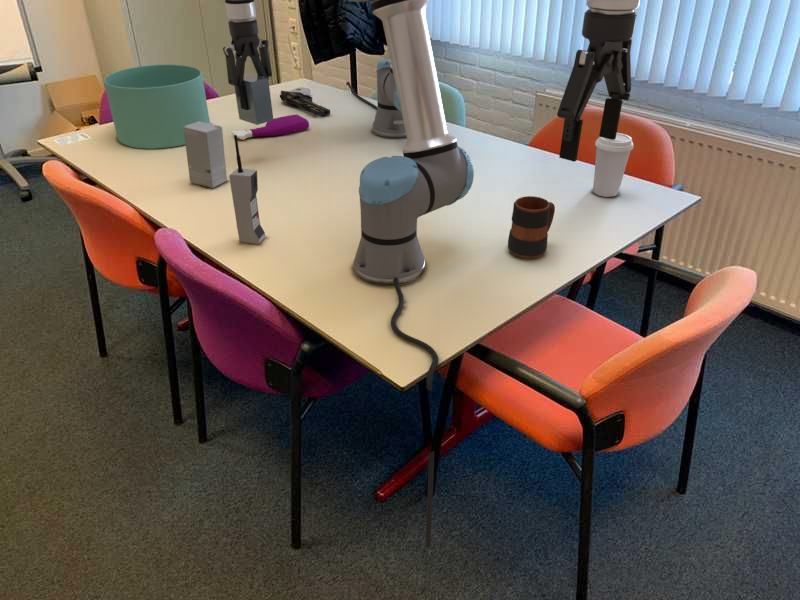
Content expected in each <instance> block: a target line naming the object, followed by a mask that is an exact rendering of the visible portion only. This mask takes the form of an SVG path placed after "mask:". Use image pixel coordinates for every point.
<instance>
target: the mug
mask: <svg viewBox="0 0 800 600" xmlns="http://www.w3.org/2000/svg"><path fill="white" fill-rule="evenodd" d="M555 213H556V207H555V204H554V203H553V202H551V201H548V200H547V199H546V198H543V197H539V196H531V195H528V196H527V195H526V196H521V197H518V198H517V199H515V201H514V202H513V208H512V213H511V226H510V227H511V228H510V230H509V232H508V233H509V234H508V240H507V248H508V250H509V252H510V253H511V254H512V255H513V256H515V257H518V258H521V259H528V260H529V259H531V260H533V259H537V258H540V257H542V256H543V255H544V254H545V253H546V251H547V247H548V240H549V239H548V238H549V235H548V233H549V231H550V229H551V226H552V224H553V220H554V216H555Z"/></svg>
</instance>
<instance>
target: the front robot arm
mask: <svg viewBox="0 0 800 600" xmlns="http://www.w3.org/2000/svg"><path fill="white" fill-rule="evenodd" d="M348 1H349V2H354V3H363V2H370V6H371V12H372V14H373V15H374V16H376V17H377V18H378V19H379V20H381V22H382V26H383V32H384V36H385V39H386V45H387V48H388V49H387V51H388V54H389V59H390V60H391V64H392V69H393V74H394V78H395V83H396V88H397V93H398V97H399V102H400V107H401V112H402V116H403V121H404V126H405V130H406V135H407V137H406V139H407V141H406V144H405V145H404V147H403V149H402V155H391V156H390V157H389V156H382V157H380V158H376V159H374V160H371V161H370V162H369V163H367V164H366V165H365V166H363V168H362V170H361V171H360V174H359V186H358V195H359V206H360V239H359V242H358V247H357V249H356V252H355V256H354V259H353V270H354V273H355V275H356V276H357V277H358V278H359V279H360V280H362V281H364V282H366V283H369V284H370V285H371V284H372V285H376V286H382V287H395V292H396V294H397V297H398V304H397V307H396V309H395V311H394V312H393V314H392V316H391V319H390V327H391V329H392V331H393V332H394V334H395V335H396V336H398V337H399V338H401V339H403V340H404V341H406V342H408V343H410V344H414V345H416V346H418V347H420V348H422V349H423V350H425V351H426V352H428V353H429V354H430V356H431V359H432V362H431V364H430V366H429V368H428V371H427V375H426V390H427V391H432V390H433V381H434V374H435V371H436V369H437V367H438V365H439V356H438V353H437V352H436V351H435V349H434V348H433V347H432V346H431V345H429V344H428V343H426V342H424V341H423V340H420V339H418V338H416V337H414V336H410V335H408V334H406V333H405V332H403V331H402V330H400V328H399V327H398V325H397V319H398V318H399V316H400V314H401V312H402V310H403V308H404V304H405V298H404V297H405V296H404V294H403V291H402V288H401V286H402V285H406V284H410V283H413V282H415V281H417V280H418V279H420V278H421V276H423V274H424V273H425V270H426V260H425V255H424V252H423V250H422V247H421V244H420V241H419V238H418V218H420V217H422V216H425V215H427V214H429V213H432V212H434V211H436V210H439V209H441V208H444V207H446V206H447V207H448V206H451V205H453V204H455V203H456V202H457V201H459V200H461V199H463V198H464V197H466V195H468V193H469V191H470V190H471V189H472V186H473V183H474V177H475V169H474V164H473V161H472V159H471V157H470V155H469V154H467V151H466V150H465V149H464V148H463V147H461V146H458V141H457V137H455V136H453V135H452V134H450V132H449V131H448V126H447V122H446V121H447V120H446V116H445V111H444V106H443V100H442V95H441V89H440V84H439V79H438V74H437V69H436V64H435V58H434V53H433V48H432V43H431V38H430V37H431V36H430V31H429V27H428V22H427V15H426V16H425V8H426V9H427V6H428V5H429V2H430V1H431V0H348ZM640 2H641V0H586V2H585V5H586V7H587V8H589V9H587V10H586V11H585V12H584V14H583V20H582V29H581V36H582V37H583V38H584V39H587V40H588V42H589V43H588V45H587V50H583V49H577V50H576V53H575V56H574V63H573V67H572V69H571V72H570V75H569V78H568V81H567V83H566V87H565V88H564V89H565V90H564V93H563V95H562V98H561V101H560V103H559V107H558V110H557V113H556V115H557V117H558V118H561V119H564V121H563V126H562V127H563V128H562V135H561V140H560V141H561V142H560V149H559V156H558V157H559V159H562V160H567V161H570V162H574V163H575V162H576V161H577V160H578V154H579V148H580V141H581V136H582V135H581V134H582V129H583V124H584V123H583V122H584V120H583V119H581V117H582V116H583V113H584V112H585V109H586V107H587V105H588V103H589V101H590V99H591V96H592V94H593V92H594V91H595V88H596V86H597V84H598V83H600V82H602V80H603V79H604V83H605V85H606V90H607V93H608V97H606V98H605V100H604V106H603V112H602V117H601V123H600V129H599V135H598V138H599V137H603V138H607V139H612V140H614V139H616V134H617V133H618V128H619V123H620V118H621V112H622V106H623V102H624V101H629V99H630V96H631V94H630V93H631V91H632V68H631V67H632V66H631V51H632V44H633V39H632V38H633V37H634V32H635V28H636V27H635V26H636V22H637V14H636V12H635V10H637V9H638V8H639V7H640ZM427 468H428V469H427V470H428V471H427V494H426V495H427V496H426V521H425V548H426V549H429V548H431V543H432V541H431V540H432V520H433V519H432V518H433V499H434V498H433V497H434V496H433V495H434V475H435V474H434V473H435V450H433V451H431V452H430V453H428V467H427Z"/></svg>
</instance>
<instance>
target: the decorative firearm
mask: <svg viewBox="0 0 800 600" xmlns="http://www.w3.org/2000/svg"><path fill="white" fill-rule="evenodd" d="M279 99H280V100H281V101H283V102H286V103H287V104H289V105H291V106H293V107H299V108H301V109H303V110H305V111H307V112H308V113H312V114H314V115H316V116H324V117H327V116H330V115H331V109H329V108H327V107H324V106H322V105H319V104H318V103H315V102H314V101H313V97H312V96H311V89H310V88H307V87H303V86H300V87H296V88H293V89H291V90H282V89H281V90H280V94H279Z"/></svg>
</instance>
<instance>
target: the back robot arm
mask: <svg viewBox="0 0 800 600" xmlns="http://www.w3.org/2000/svg"><path fill="white" fill-rule="evenodd" d="M224 3H225V10H226V16H227V19H228V20H229V21H228V23H227V24H228V29H229V35H230V37H231V42H230V45H228V46H223V47H222V51H223V54H224V56H225V63H226V74H227V82H228V83H227V84H228V85H231V86H235V87H236V92H237V97H238V98H240V104H241V109H245V110H249V105H248V98H247V92H246V86H243V80H244V75H245V68H246V62H247V59H248V57H249V58H250V60H251V62H252V64H253V67H254V69H255V72H256V75H259V76H263V77H267V78H268V80H270V78H271V77H272V76H273V72H272V66H271V60H270V54H269V40H268V39H263V38H260V37H259V36H258V35H259V26H258V20H257V19H255V18H257V11H256V3H255V0H224ZM425 16H426V17H427V7H426V8H425ZM375 72H376V92H377V98H376V99H377V105H376V104H373V103H372V102H371V101H368V100H367V99H366V98H363V97H362V96H360V95H359V94H358V93H357V92H356V91H355V90H354V89H353V86H352V85H351V83H350V82H349V81H347V82H346V84H345V85H346V86H348V88H349V89H350V91H351V93H352V94H353V95H354V96H355V97H356V98H358V99H359V100H360V101H362V102H364V103H366V104H367V105H368V106H370V107H372V108H373V109H375V110H376V112H375V116H374V120H373V122H372V133H373V134H374V135H376V136H379V137H383V138H389V139H403V138H407V135H406V130H405V126H404V121H403V116H402V112H401V107H400V102H399V97H398V93H397V88H396V83H395V78H394V74H393V69H392V64H391V60H390V58H385V59H380V60H378V61H377V63H376V70H375ZM235 87H234V88H235Z"/></svg>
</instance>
